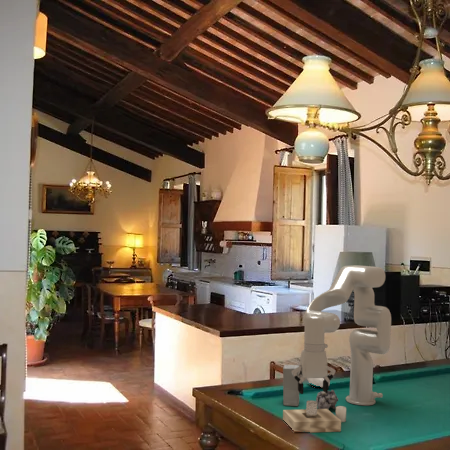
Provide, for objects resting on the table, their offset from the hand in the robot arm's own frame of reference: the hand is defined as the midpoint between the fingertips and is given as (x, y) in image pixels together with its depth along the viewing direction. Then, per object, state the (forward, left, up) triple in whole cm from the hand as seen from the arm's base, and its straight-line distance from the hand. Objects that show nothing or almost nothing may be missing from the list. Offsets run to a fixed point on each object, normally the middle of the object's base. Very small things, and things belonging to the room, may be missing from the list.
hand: (313, 392), depth 220 cm
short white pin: (-14, -5, -13) cm, 19 cm away
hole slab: (0, 0, -13) cm, 13 cm away
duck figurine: (-22, -52, -13) cm, 57 cm away
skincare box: (-1, -28, -13) cm, 30 cm away
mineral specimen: (-13, -18, -13) cm, 25 cm away
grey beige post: (+1, 0, -13) cm, 13 cm away
